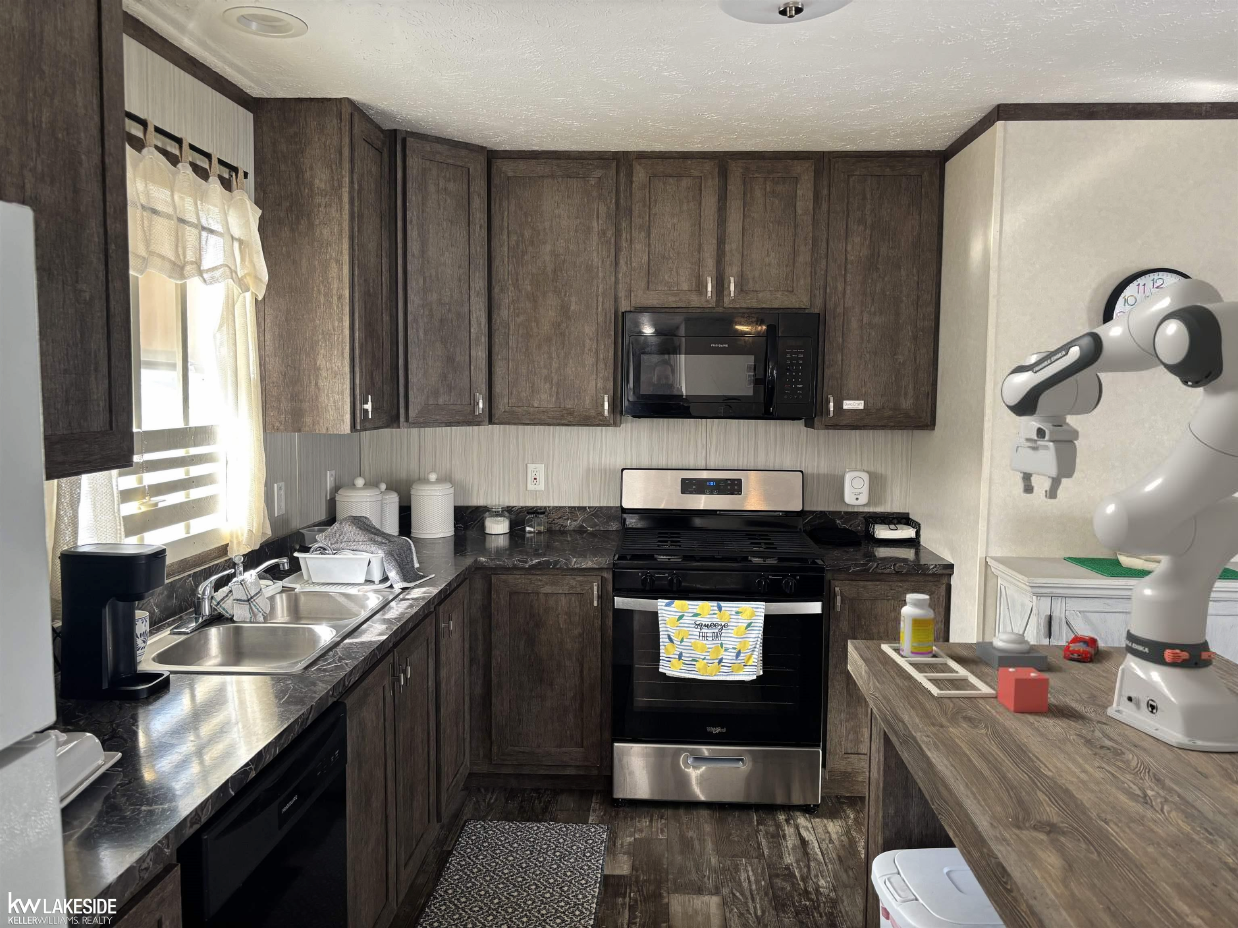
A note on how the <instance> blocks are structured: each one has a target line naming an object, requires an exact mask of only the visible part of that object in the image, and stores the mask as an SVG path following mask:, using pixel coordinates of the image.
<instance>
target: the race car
mask: <svg viewBox="0 0 1238 928" xmlns="http://www.w3.org/2000/svg"><path fill="white" fill-rule="evenodd" d="M1065 643H1067V645H1066V646H1065V648H1064V649H1063V659H1068V660H1073V661H1078V662H1085V663H1091V662H1092V660H1093V659H1094V658H1095V656H1096V655H1097V654H1098V653H1099V651H1100V650H1099V649H1100V648H1099V647H1100V646H1099V640H1098V638H1096V637H1094V636H1090V635H1084V634H1075V635H1074V636H1073V637H1072V638H1071V639H1070V640H1067V641H1065Z"/></svg>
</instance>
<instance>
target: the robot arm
mask: <svg viewBox="0 0 1238 928" xmlns="http://www.w3.org/2000/svg"><path fill="white" fill-rule="evenodd" d="M1161 366H1163V368H1165V370H1166V371H1167V372H1168V373H1170V374H1171V375H1173V376H1175V377H1176V378H1178V379H1179V381H1180V383H1181V384H1182V385H1183V386H1185V387H1187V388H1191V389H1199V388H1202V391H1203V393H1202V399H1201V401H1200V403H1199V405H1198V407H1197V408H1196V410H1195V412H1193V415H1192V417H1191V418H1190V420H1189V422H1188V423H1187V425H1186V427H1185V428H1184V430H1183V431H1182V434H1181V435H1180V436H1179V438H1178V440H1177V441H1176V442H1175V445H1174V446H1173V448H1172V449H1171V451H1170V452H1169V453H1168V455H1166V457H1165V458H1164V459H1163V460H1162V461H1160V463H1159V464H1158V465H1157V466H1156V467H1154V469H1153V468H1152V470H1151V471H1150V472H1148V473H1147V474H1146V475H1145V476H1143V477H1142V478H1140V479H1138V481H1135V483H1133V484H1132V485H1129V486H1127V487H1126V488H1124V489H1122V490H1120V491H1117V492H1116V493H1115V492H1114V493H1112V494H1110V495H1107V496H1105V497H1104V498H1103V499H1101V500H1100V502H1099V503H1098V505H1097V506H1096V507H1095V510H1094V513H1093V517H1092V528H1093V532H1094V534H1095V536H1096V538H1097V540H1098V541H1099V543H1100V544H1101V546H1103V547H1104V548H1105V549H1106V550H1108V551H1112V552H1116V553H1120V554H1126V555H1131V556H1135V557H1162V559H1161V562H1160V563H1159V564H1158V566H1157V567H1156V569H1155V570H1153V572H1151V573H1150V574H1149V575H1146V576H1144V577H1143V578H1141V579H1140V580H1138V581H1137V582H1136V583H1135V584H1134V586H1133V588H1132V590H1131V596H1130V597H1131V598H1130V614H1129V628H1128V629H1127V630H1126V633H1125V634H1126V636H1125V637H1124V639H1125V640H1124V643H1125V648H1124V649H1125V651H1126V653H1127V654H1126V657H1125V659H1124V660H1123V662H1122V664H1121V665H1120V667H1119V669H1118V673H1117V679H1116V685H1115V692H1114V697H1113V698H1114V699H1113V704H1112V705H1110V706H1108V707H1107V708H1106V709H1107V710H1106V715H1108V716H1109V717H1111V718H1113V719H1116V720H1118V721H1120V722H1122V723H1124V724H1126V725H1128V726H1131V727H1133V728H1135V729H1136V730H1139V731H1141V732H1142V733H1145V734H1147V735H1149V736H1152V737H1154V738H1156V739H1157V740H1160V741H1162V742H1165V743H1166V744H1169V745H1172V746H1173V747H1175V748H1180V749H1187V750H1192V751H1193V750H1194V751H1202V752H1206V751H1207V752H1227V753H1228V752H1238V696H1237V694H1234V693H1232V692H1231V691H1230V690H1229V689H1228V687H1227V686H1226V685H1225V684H1224V682H1223V681H1222V679H1221V678H1220V676H1219V675H1218V674H1217V672H1215V670H1214V668H1213V666H1212V665H1213V662H1214V661H1213V660H1216V659H1217V657H1214V655H1217V652H1216V651H1212V650H1211V647H1210V646H1209V645H1210V644H1209V641H1208V639H1206V635H1207V623H1208V622H1207V621H1208V614H1209V607H1210V606H1209V605H1210V599H1211V596H1212V591H1213V589H1214V587H1215V585H1216V583H1217V580H1218V579H1219V577H1220V575H1221V574H1222V572H1223V570H1224V569H1225V568H1226V566H1227V565H1228V564H1230V562H1231V561H1232V559H1234V557H1236V556H1237V555H1238V496H1235V494H1237V493H1238V301H1231V300H1230V301H1224V299H1223V297H1222V295H1221V293H1220V292H1219V290H1217V288H1216V287H1215V286H1213V285H1212V284H1211V283H1209V282H1207V281H1205V280H1202V279H1200V278H1185V279H1180V280H1178V281H1175V282H1173V283H1171V284H1168V285H1166V286H1164V287H1162V288H1160V289H1158V290H1156V291H1155V292H1153V293H1151V294H1150V295H1148V296H1147V297H1145V298H1143V299H1142V300H1140V301H1139V302H1138V303H1136V304H1135V305H1134V306H1133V307H1131V308H1129V309H1128V310H1127V311H1125V312H1124V313H1122V314H1120V315H1118V316H1116V317H1115V318H1113V319H1111V320H1110V321H1108V322H1106V323H1104V324H1102V325H1101V326H1100V325H1099V326H1098V327H1096V328H1094V329H1092V330H1089V331H1088V332H1085V333H1083V334H1081V335H1079V336H1077V337H1075V338H1073V339H1070V340H1069V341H1067V342H1066V343H1063V344H1062V345H1060V346H1059V347H1057V348H1055V349H1054V350H1046V351H1039V352H1038V351H1037V352H1035V353H1031V354H1030V355H1029V356H1027V357H1026V359H1025V362H1024V364H1020V365H1017V366H1014V368H1013V369H1012V370H1011V371H1010V372H1009V373H1008V374H1007V375H1006V377H1005V378H1004V379H1003V381H1002V384H1001V388H1000V395H1001V400H1002V402H1003V403H1004V405H1005V406H1006V408H1007V409H1008V410H1009V411H1010V412H1011V413H1012V414H1014V415H1015V416H1016V417H1018V419H1019V420H1018V421H1019V424H1018V433H1016V437H1015V438H1014V439H1013V440H1012V444H1011V450H1010V451H1011V452H1010V457H1009V458H1010V459H1009V466H1010V469H1011V470H1012V471H1014V472H1019V479H1020V482H1021V485H1022V488H1021V489H1022V491H1021V492H1022V493H1023V494H1025V495H1026V494H1027V495H1033V494H1034V493H1035V492H1034V491H1035V485H1033V481H1032V478H1033V475H1037V476H1042V477H1047V482H1048V486H1047V489H1045V491H1044V493H1045V494H1044V498H1045V499H1048V500H1057V499H1058V490H1059V489H1060V486H1061V485H1062V481H1063V480H1062V479H1072V478H1073V476H1074V475H1075V472H1076V467H1077V457H1078V455H1077V454H1078V451H1077V450H1078V447H1077V444H1076V442H1077V441H1078V440H1079V438H1080V433H1079V430H1078V429H1077V428H1075V427H1073V425H1071V424H1070V423H1069V422H1067V418H1068V417H1067V416H1083V415H1087V414H1091V413H1092V412H1093V411H1095V409H1096V408H1098V406H1099V404H1100V402H1101V400H1102V397H1103V389H1104V388H1103V382H1102V380H1101V377H1100V376H1099V375H1098V374H1101V373H1133V372H1144V371H1149V370H1152V369H1156V368H1158V367H1161Z"/></svg>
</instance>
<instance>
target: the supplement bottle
mask: <svg viewBox="0 0 1238 928" xmlns="http://www.w3.org/2000/svg"><path fill="white" fill-rule="evenodd" d="M905 599H906V600H905V601H906V605H905V606H903V607H902V608H901V611H900V636H899V638H900V640H899V641H900V642H899V644H900V649H899V652H900V655H902V656H903V657H904V658H933V655H934V653H933V646H934V635H935V633H934V631H935V630H934V629H935V627H934V626H935V613H934V610H933V609H932V608H930V607H929V604H930V603H931V601H930V600H931V599H930V596H929V595H927V594H922V593H908V594H906V597H905Z"/></svg>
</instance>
